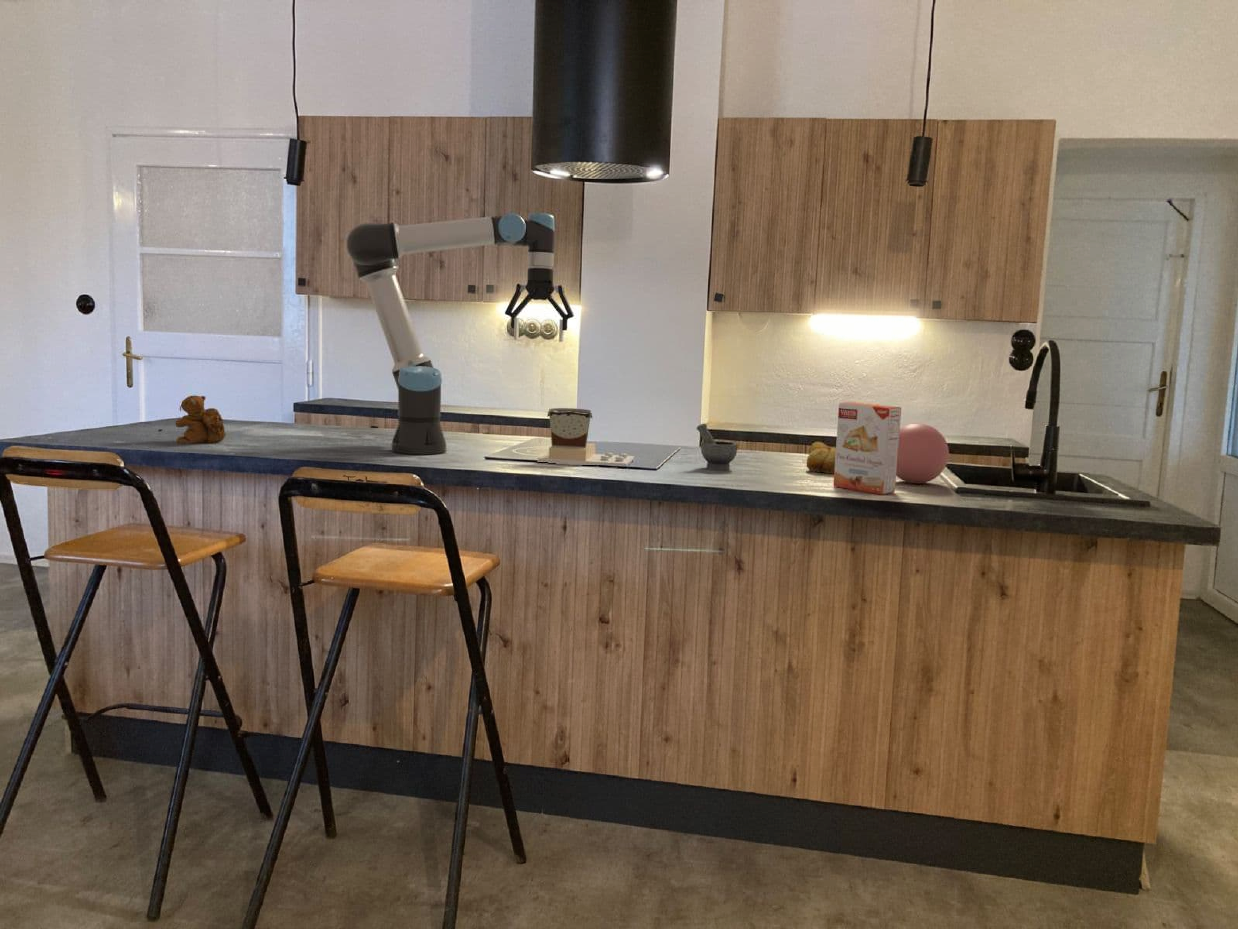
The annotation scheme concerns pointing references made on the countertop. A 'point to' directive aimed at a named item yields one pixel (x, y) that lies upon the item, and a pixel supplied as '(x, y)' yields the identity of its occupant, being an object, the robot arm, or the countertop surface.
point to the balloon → (921, 453)
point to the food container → (569, 427)
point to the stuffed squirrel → (200, 422)
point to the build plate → (589, 462)
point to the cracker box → (867, 447)
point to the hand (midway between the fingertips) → (538, 340)
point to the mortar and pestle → (716, 450)
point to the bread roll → (821, 458)
